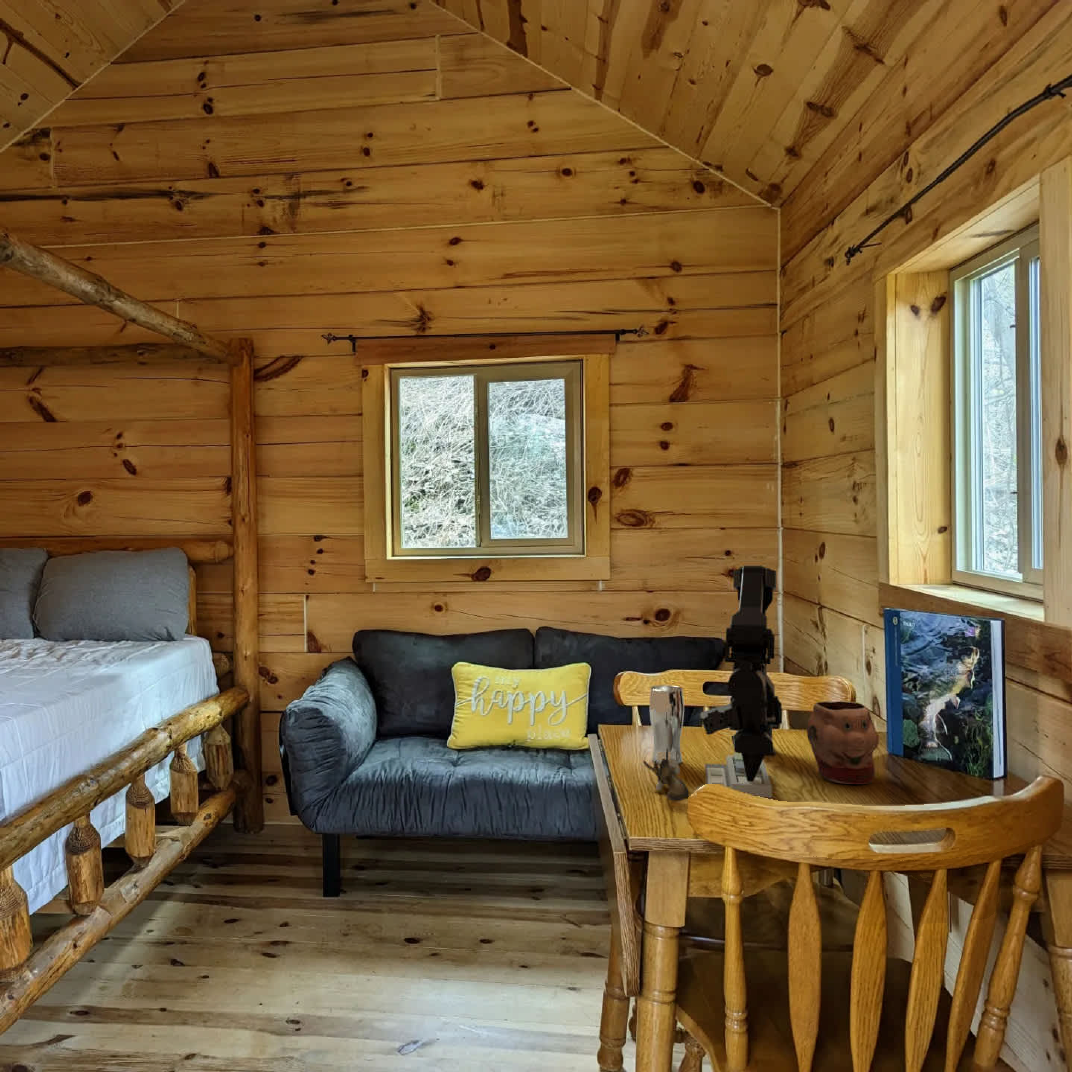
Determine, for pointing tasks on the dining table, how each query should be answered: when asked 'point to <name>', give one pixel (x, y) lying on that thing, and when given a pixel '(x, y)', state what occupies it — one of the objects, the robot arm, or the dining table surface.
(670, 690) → the beer glass
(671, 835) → the dining table surface
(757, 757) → the robot arm
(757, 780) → the ivory key
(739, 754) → the sage key
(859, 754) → the decorative planter
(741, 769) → the slate key
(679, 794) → the eagle figurine
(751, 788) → the keypad
